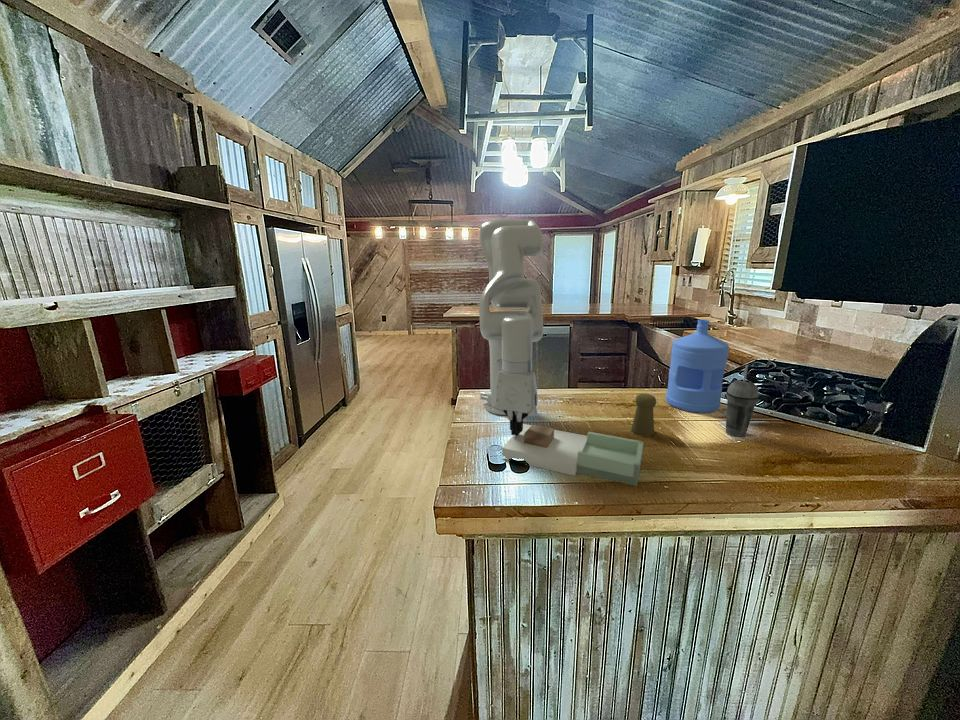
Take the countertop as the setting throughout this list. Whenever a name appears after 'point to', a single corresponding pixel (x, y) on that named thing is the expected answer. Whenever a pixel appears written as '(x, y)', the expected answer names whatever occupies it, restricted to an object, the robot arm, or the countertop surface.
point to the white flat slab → (548, 451)
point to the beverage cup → (740, 406)
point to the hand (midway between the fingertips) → (516, 433)
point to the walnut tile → (539, 436)
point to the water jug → (697, 371)
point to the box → (611, 458)
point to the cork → (644, 415)
